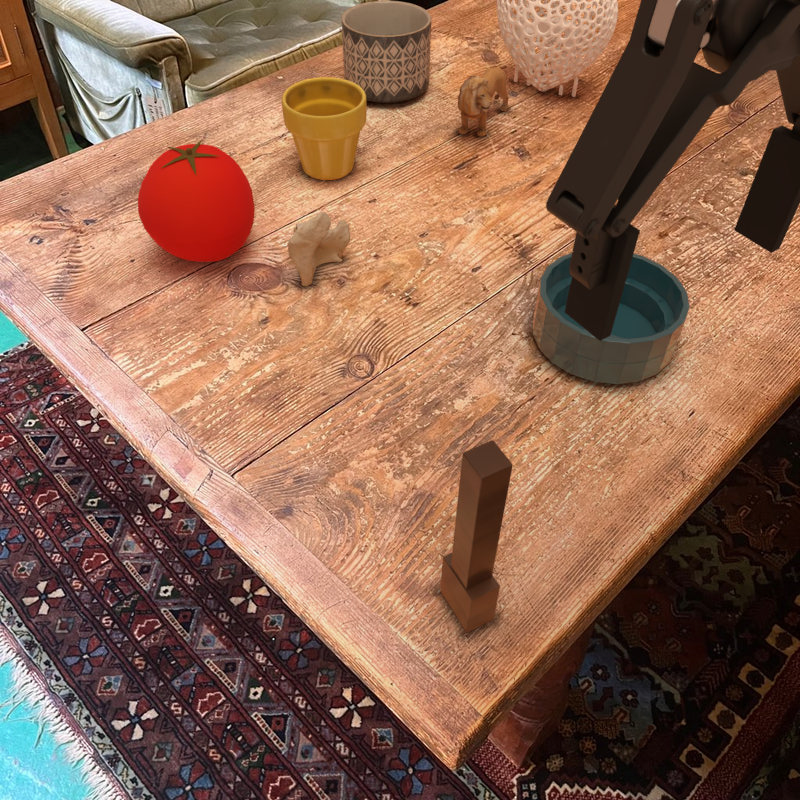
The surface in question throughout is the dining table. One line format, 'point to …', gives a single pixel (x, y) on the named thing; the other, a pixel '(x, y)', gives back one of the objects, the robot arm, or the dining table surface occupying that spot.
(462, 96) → the lion figurine
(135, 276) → the dining table surface
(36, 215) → the dining table surface
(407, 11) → the planter
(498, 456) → the stirring stick
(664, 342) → the bowl
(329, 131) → the flower pot
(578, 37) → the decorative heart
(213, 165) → the tomato
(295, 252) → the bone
